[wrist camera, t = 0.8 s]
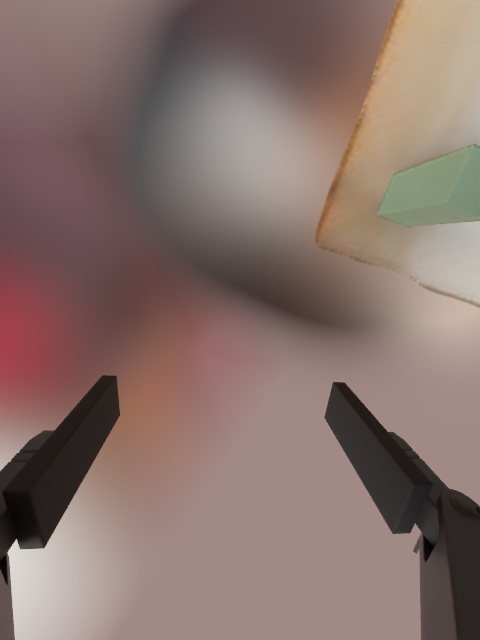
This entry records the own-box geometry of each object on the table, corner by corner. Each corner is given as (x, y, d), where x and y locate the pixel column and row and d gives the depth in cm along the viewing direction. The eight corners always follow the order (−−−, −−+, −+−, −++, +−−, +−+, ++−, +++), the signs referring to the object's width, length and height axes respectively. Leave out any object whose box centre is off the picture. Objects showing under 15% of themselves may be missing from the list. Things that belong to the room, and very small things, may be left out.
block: (393, 174, 30) (474, 143, 21) (425, 187, 31) (517, 163, 22) (376, 215, 32) (445, 203, 22) (407, 226, 32) (486, 220, 23)
